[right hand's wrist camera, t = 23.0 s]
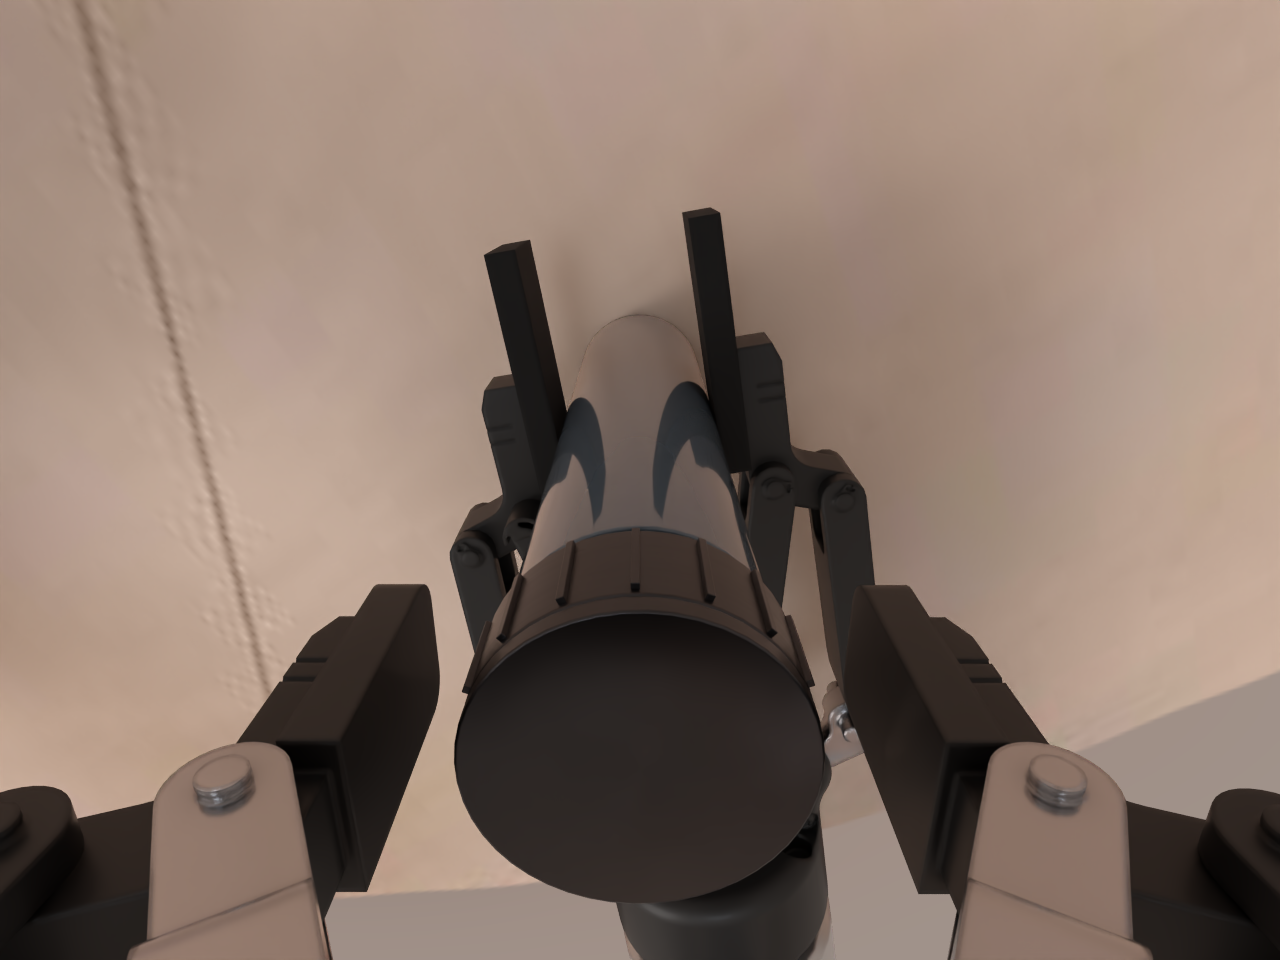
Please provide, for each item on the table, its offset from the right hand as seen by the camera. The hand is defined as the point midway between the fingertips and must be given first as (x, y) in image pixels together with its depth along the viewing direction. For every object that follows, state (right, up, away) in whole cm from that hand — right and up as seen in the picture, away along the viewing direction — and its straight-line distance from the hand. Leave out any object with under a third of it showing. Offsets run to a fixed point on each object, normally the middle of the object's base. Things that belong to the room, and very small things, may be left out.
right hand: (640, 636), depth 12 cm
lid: (0, -1, -2) cm, 3 cm away
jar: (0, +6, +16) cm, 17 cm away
